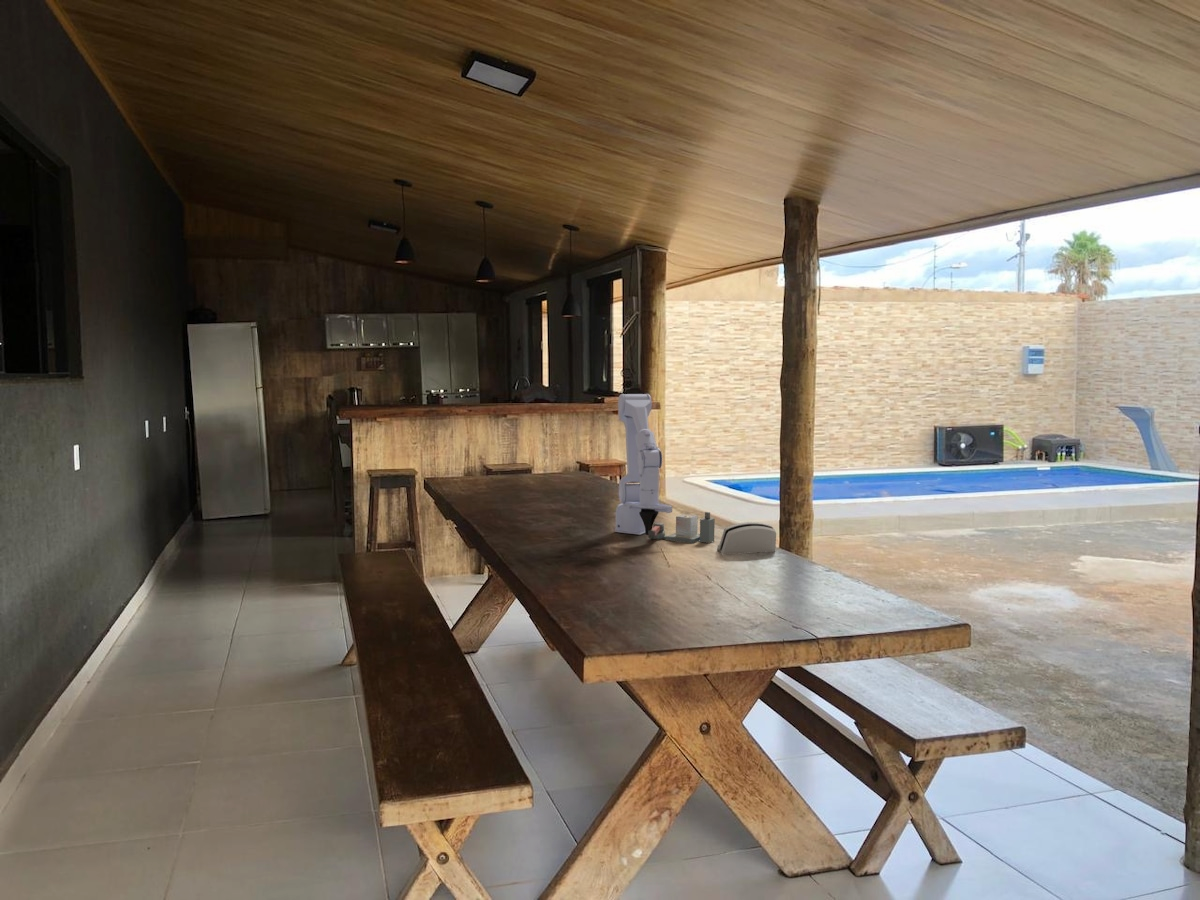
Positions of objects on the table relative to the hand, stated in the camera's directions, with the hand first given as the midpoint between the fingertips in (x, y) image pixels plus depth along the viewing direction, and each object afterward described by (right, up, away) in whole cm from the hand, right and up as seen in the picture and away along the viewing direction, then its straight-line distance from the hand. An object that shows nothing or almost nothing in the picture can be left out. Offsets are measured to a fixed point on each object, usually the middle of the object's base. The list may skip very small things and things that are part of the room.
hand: (648, 534), depth 281 cm
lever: (+2, 0, +3) cm, 3 cm away
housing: (+12, -1, +6) cm, 14 cm away
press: (+12, -2, +7) cm, 14 cm away
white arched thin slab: (+28, -4, -12) cm, 31 cm away
